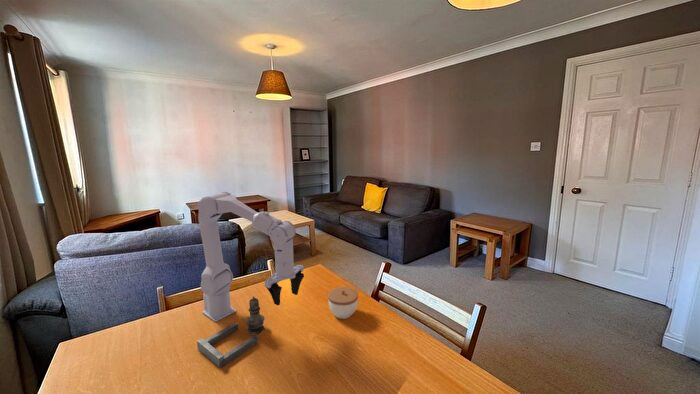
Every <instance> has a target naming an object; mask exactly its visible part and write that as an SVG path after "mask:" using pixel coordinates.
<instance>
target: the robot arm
mask: <svg viewBox="0 0 700 394" xmlns="http://www.w3.org/2000/svg"><path fill="white" fill-rule="evenodd" d="M197 208H198V217H197V219H198V224H199V230H200V236H201V242H202V248H203V253H204V259H205V260H204V261H205V268H204V269H203V271H202V273H201V275H200V277H201V281H200V289H201V291H202V292H203V294H202V297H203V298H202V299H203V308H204V310H202V311H201V313H202V314H203V315H205V316H206V317H207V318H209V319H211V320H212V321H213V322H214V323H216V322H218V321H220V320H223V319H225V318H226V317H229V316H230V315H232V314H234V313H236V312H237V309H235V308H234V307H232V306H231V294H230V288H231V283H232V282H233V280H234V275H233V272H232V270H231V267H230V265H229V264H228V263H225V262H224V257H223V256H224V254H223V251H222V250H223V249H222V242H221V237H220V232H219V230H220V229H219V225H218V220H219V218H221V216H222V215H223V214H226V213H232V214H235V215H236V216H239V217H241V218H243V219H245V220H247V221H249V222H251V224H252V226H253V228H254V229H257V230H258V231H260V232H262V233H263V234H265V235H267V236H269V238H270V240H271V242H272V243H273V248H274V260H275V261H274V265H275V267H274V268H275V272H274V273H273V274H272V275H270V277H268V278H267V279H265V280H264V287H266V290H268V292H269V294H270V296H271V298H272V300H273V301H272V302H273V304H274V305H275V306H280V305H281V292H282V288H283V287H282V286H280V285H279V284H278V283H280V282H281V281H286V280H288V279H289V281H290V288H291V289H290V290H291V294H292V295H295V296H298V294H299V290H300V287H301V284H302V281H303V279H304V278H305V274H304V273H303V272H304V265H301V264H297V265H294V262H295V261H294V239H293V238H294V237H295V235H296V233H297V232H296V231H297V230H296V227H295V225H294V224H293V223H292V222H291V221H288V220H285V221H283V220H282V219H279V218H276V217H274V216H272V215H271V214H270V212H268V211H259V212H258V211H256V210H255V209H253V208H252V207H249V206H248V205H247V204H245V203H243V202H242V201H240V200H239V199H237V198H236V195H234V194H232V193H230V192H228V191H223V192H221V193H220V192H219V193H216V194H213V195H206V196H203V197H202V198H201V199H199V201H198V202H197Z"/></svg>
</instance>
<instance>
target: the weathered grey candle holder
mask: <svg viewBox="0 0 700 394" xmlns="http://www.w3.org/2000/svg"><path fill="white" fill-rule="evenodd" d="M259 303H260V301H259V299H258V298H257V297H255V296H254V295H253V297H252V298H251V299H250V300H249V304H248V306H249V308H248V312H249V316H248V317H246V320H245V324H246V325H247V327H248V328H247V331H246V332H247V334H249V335H251V336H252V335H253V336H254V335H255V336H257V335H259V334H261V333H262V332H263V331H264V329H265V325H263V324H264V321H265V319H266V318H265V316H264V315H263V314H260V310H261V307H260V304H259Z"/></svg>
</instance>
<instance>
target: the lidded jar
mask: <svg viewBox="0 0 700 394" xmlns="http://www.w3.org/2000/svg"><path fill="white" fill-rule="evenodd" d="M327 299H328V300H327V302H328V307H329V310H330V312H331V313H332V314H333V315H334V316H335V317H336V318H338V319H340V320H345V319H348V318H350V317H352V315H353V314H354V313H355V312H356V310H357V306H358V304H359V303H358V300H359V293H358V291H357V290H356V289H354V288H352V287H350V286H349V287H348V286H339V287H335V288H332V289H331V290H330V291H329V292H328V293H327Z"/></svg>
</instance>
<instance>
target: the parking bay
mask: <svg viewBox="0 0 700 394" xmlns="http://www.w3.org/2000/svg"><path fill="white" fill-rule="evenodd" d="M237 331H239V324H238V323H237V322H234V323H232V324H230V325H228V326H227V327H225V328H223V329H221V330H219V331H218V332H216V333H214V334H213V335H210V336H208V337H207V338H205V339H204V338H203V337H201V338H199V339H197V340H196V344H197V350H198V351H199V352H200V353H201V354H203V356H205V357H206V358H207V359H208V360H209V361H211V362H212V364H214V365H215V366H217V368H219V369H221V368H224V366H225V365H227V364H229V363H230V362H231V361H233V360H235V359H236V358H238V357H239V356H240V355H242V354H244V353H245V352H247V351H248V350H250V349H251V348H253V347H255V345H257V344H258V343H259V337H258V336H257V335H253V336H251V337H249V338H248V339H246V340H245V341H243V342H242V343H240V344H238V345H237V346H235V347H234V348H232V349H231V350H229V351H227V352H226V353H224V354H223V353H221V352H220V351H219V350H218V349H217V348H215V347H214V346H213V345H215V344H216V343H218V342H219V341H222V340H223V339H224V338H226V337H229V336H230V335H232V334H234V333H236V332H237Z"/></svg>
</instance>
